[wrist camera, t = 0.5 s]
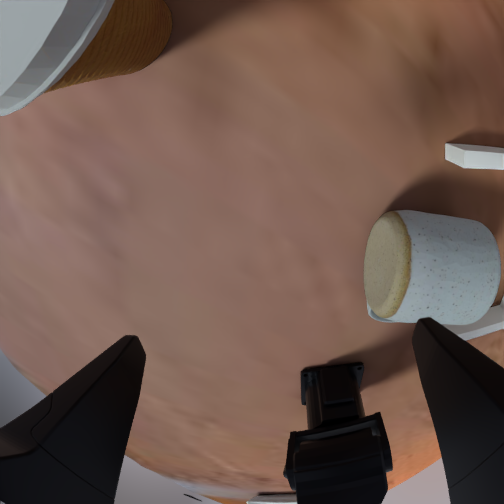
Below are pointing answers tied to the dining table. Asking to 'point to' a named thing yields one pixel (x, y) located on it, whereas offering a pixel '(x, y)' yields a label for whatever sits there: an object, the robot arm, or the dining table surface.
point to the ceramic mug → (430, 268)
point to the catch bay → (479, 159)
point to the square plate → (274, 499)
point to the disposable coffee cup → (74, 43)
